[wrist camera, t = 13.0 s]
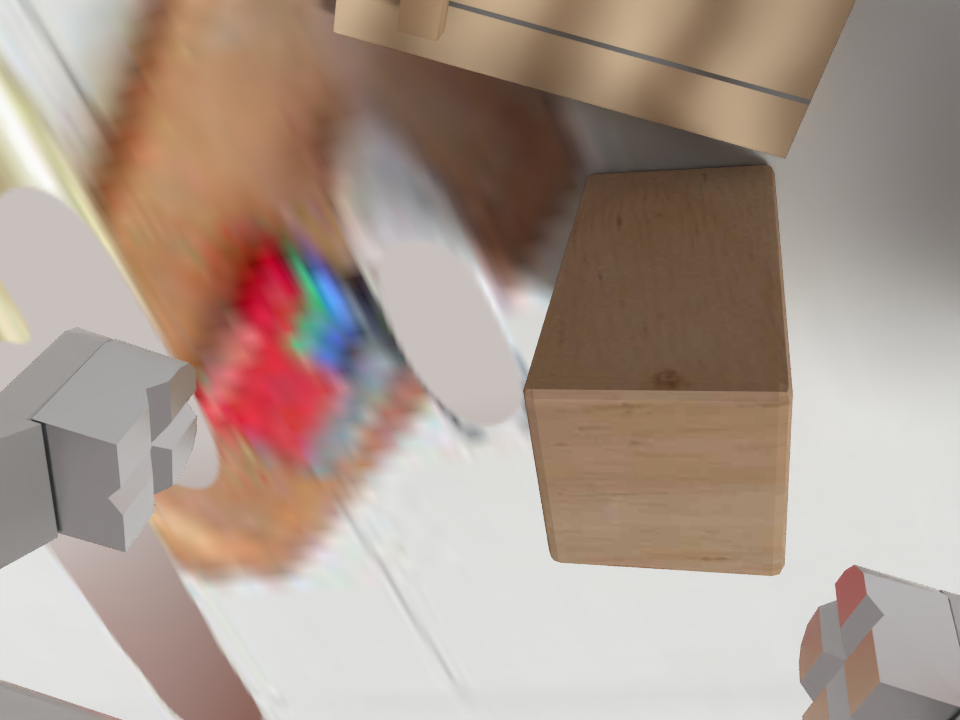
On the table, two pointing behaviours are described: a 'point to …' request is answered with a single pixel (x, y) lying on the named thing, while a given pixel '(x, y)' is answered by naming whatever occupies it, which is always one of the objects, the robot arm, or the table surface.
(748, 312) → the wooden block
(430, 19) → the block
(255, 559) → the table surface
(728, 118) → the board
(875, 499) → the table surface
